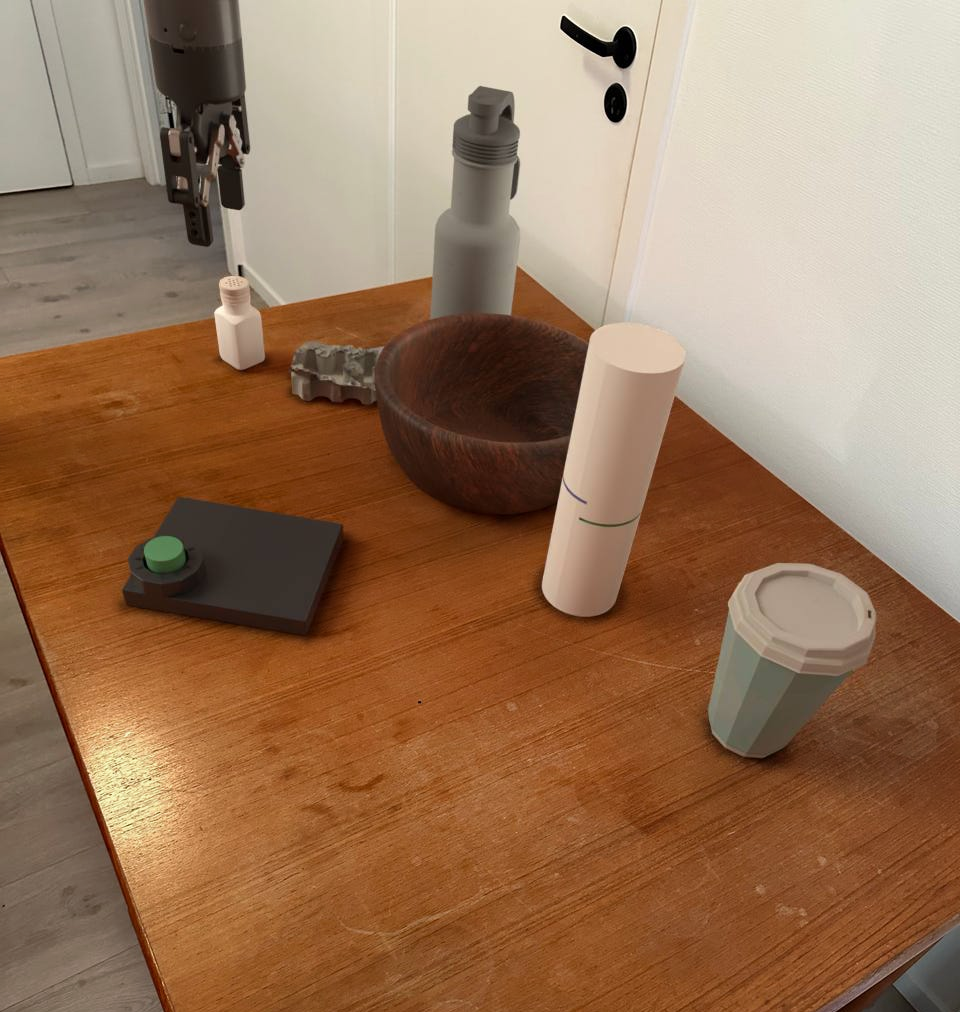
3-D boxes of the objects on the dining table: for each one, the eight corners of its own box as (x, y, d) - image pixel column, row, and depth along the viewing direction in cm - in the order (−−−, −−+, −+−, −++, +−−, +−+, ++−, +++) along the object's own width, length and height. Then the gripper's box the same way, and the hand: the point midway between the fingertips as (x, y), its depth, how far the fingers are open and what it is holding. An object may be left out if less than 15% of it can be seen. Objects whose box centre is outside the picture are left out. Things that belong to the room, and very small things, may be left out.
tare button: (141, 570, 76) (137, 557, 75) (155, 546, 79) (152, 533, 77) (177, 577, 76) (174, 563, 75) (191, 552, 78) (188, 539, 77)
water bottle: (442, 316, 116) (458, 71, 96) (515, 332, 115) (547, 87, 95) (418, 354, 110) (430, 99, 89) (495, 371, 109) (525, 117, 88)
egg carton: (287, 400, 101) (284, 368, 98) (298, 365, 106) (295, 333, 103) (382, 409, 101) (382, 376, 98) (388, 373, 106) (388, 341, 103)
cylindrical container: (576, 553, 88) (630, 313, 69) (632, 593, 85) (705, 353, 66) (526, 585, 84) (569, 340, 66) (583, 628, 81) (645, 384, 62)
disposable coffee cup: (675, 758, 72) (731, 632, 61) (690, 663, 79) (742, 534, 68) (807, 795, 71) (888, 672, 60) (810, 694, 78) (883, 569, 67)
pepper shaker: (218, 359, 105) (207, 280, 98) (245, 347, 107) (237, 270, 100) (239, 373, 103) (230, 294, 96) (267, 361, 105) (260, 284, 98)
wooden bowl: (595, 555, 88) (616, 470, 80) (346, 509, 89) (344, 421, 81) (612, 414, 105) (631, 333, 97) (403, 377, 106) (406, 294, 98)
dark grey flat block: (124, 605, 78) (116, 576, 75) (180, 511, 87) (174, 482, 84) (306, 636, 77) (303, 608, 75) (343, 538, 86) (342, 510, 83)
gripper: (184, 0, 79) (207, 191, 91) (113, 44, 70) (149, 250, 82) (266, 14, 79) (279, 203, 91) (206, 59, 69) (229, 264, 81)
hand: (217, 225), depth 86 cm, fingers open, 8 cm apart
